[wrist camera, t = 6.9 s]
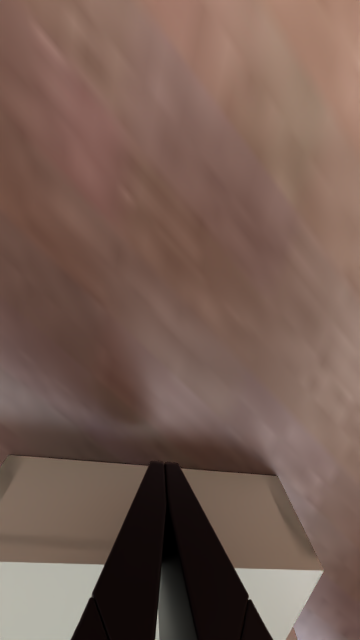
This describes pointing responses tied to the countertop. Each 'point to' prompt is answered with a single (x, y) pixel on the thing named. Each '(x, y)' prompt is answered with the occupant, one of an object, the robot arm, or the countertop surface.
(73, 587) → the cream rectangular slab
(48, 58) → the countertop surface
